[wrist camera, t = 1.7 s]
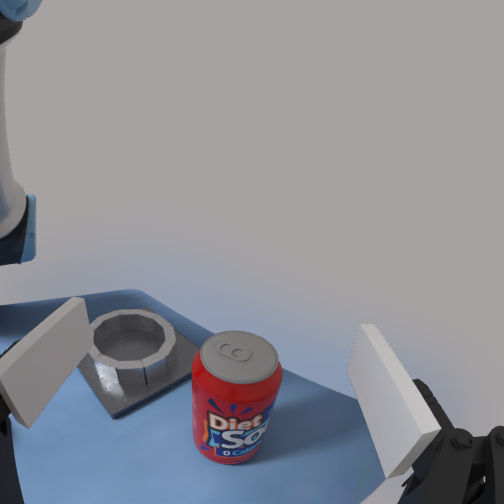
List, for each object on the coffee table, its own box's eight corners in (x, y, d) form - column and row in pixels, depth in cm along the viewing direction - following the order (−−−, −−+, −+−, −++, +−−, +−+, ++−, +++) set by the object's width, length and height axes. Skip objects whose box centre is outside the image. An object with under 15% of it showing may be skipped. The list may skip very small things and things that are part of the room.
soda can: (214, 407, 32) (222, 315, 27) (269, 432, 29) (298, 344, 24) (180, 446, 25) (172, 358, 20) (241, 478, 22) (264, 403, 17)
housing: (63, 342, 36) (57, 322, 35) (147, 311, 50) (145, 293, 48) (112, 419, 26) (105, 400, 25) (212, 363, 40) (214, 343, 39)
